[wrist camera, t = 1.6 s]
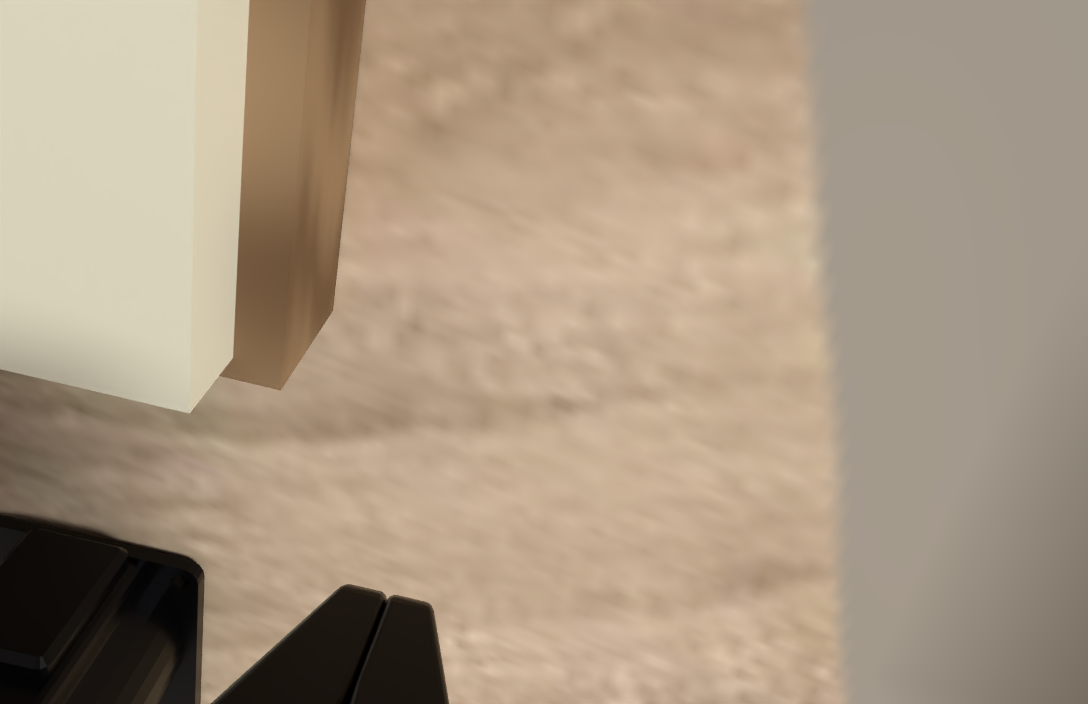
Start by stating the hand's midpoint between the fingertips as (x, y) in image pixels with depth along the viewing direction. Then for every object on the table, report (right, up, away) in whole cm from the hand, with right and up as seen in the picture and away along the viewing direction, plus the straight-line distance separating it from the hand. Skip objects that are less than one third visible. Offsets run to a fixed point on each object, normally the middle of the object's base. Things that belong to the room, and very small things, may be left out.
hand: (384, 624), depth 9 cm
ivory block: (-7, +6, +8) cm, 12 cm away
